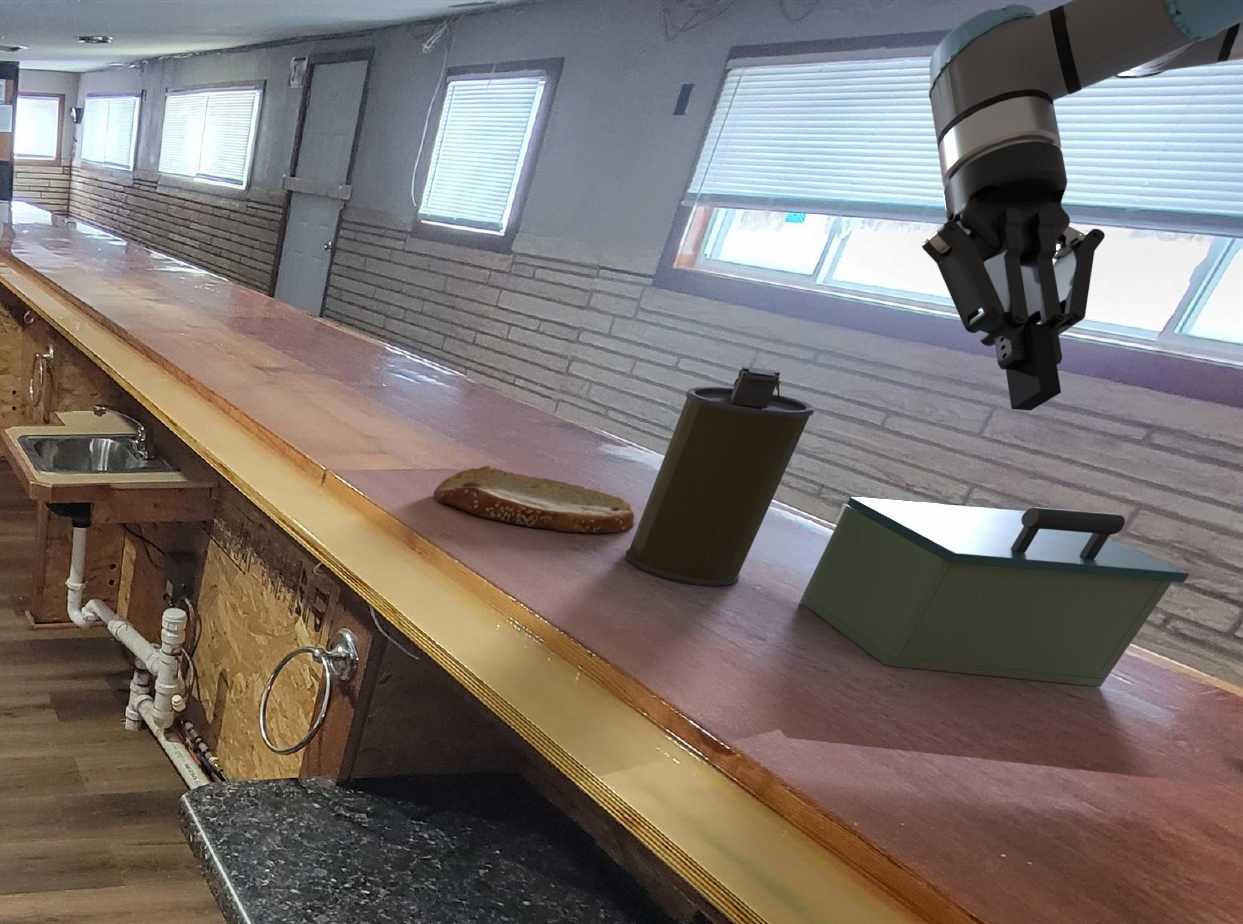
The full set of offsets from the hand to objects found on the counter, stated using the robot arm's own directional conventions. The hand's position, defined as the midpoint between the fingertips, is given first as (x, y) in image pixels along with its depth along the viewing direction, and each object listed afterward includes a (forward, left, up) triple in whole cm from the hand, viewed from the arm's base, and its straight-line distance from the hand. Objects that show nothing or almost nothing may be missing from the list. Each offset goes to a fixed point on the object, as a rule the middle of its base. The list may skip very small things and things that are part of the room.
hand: (1035, 400), depth 81 cm
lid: (-1, +4, -11) cm, 12 cm away
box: (-1, +4, -21) cm, 21 cm away
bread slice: (+32, -18, -21) cm, 42 cm away
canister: (+18, -6, -21) cm, 28 cm away
